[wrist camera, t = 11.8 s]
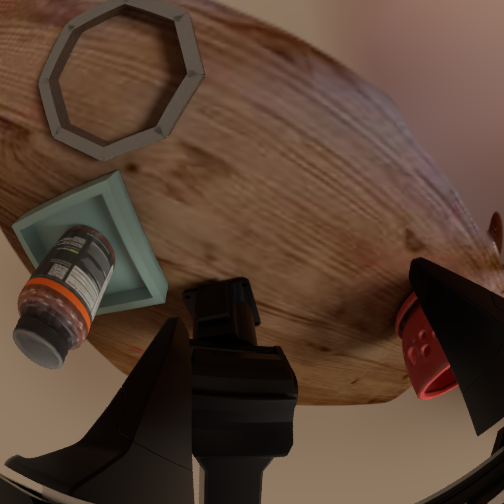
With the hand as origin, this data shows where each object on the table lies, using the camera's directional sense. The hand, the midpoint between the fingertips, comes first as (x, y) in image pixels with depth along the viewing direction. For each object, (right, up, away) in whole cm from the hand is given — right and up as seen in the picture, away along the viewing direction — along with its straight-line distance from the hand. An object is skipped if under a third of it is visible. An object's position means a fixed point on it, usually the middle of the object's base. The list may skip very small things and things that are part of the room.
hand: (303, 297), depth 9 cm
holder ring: (-11, +14, +5) cm, 19 cm away
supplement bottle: (-16, +2, +12) cm, 20 cm away
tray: (-16, +2, +12) cm, 21 cm away
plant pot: (+22, -5, +22) cm, 31 cm away
